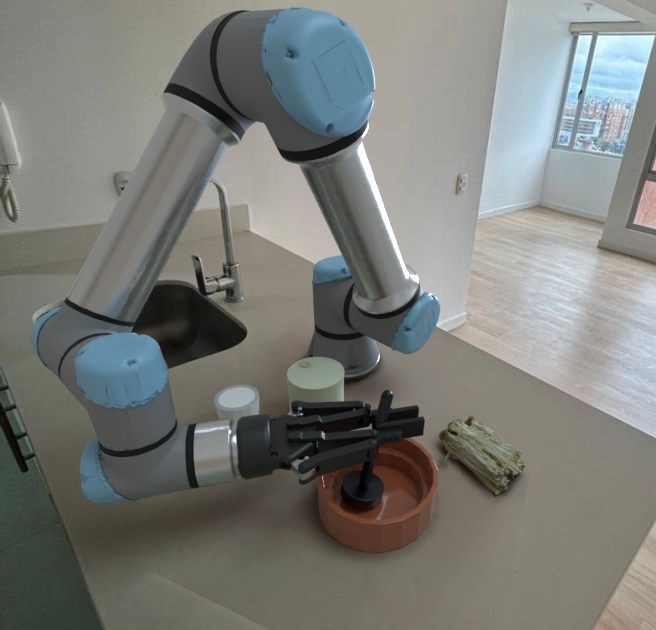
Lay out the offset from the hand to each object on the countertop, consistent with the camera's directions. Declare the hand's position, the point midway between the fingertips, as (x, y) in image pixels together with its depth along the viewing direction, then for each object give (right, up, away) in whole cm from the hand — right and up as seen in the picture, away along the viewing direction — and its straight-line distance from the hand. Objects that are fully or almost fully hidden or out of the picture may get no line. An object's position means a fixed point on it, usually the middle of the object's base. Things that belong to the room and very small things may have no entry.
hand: (420, 420), depth 62 cm
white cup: (-30, -5, +13) cm, 33 cm away
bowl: (-6, -12, +2) cm, 14 cm away
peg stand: (-8, -11, +2) cm, 14 cm away
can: (-18, -5, +15) cm, 24 cm away
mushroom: (+10, -10, +11) cm, 18 cm away
